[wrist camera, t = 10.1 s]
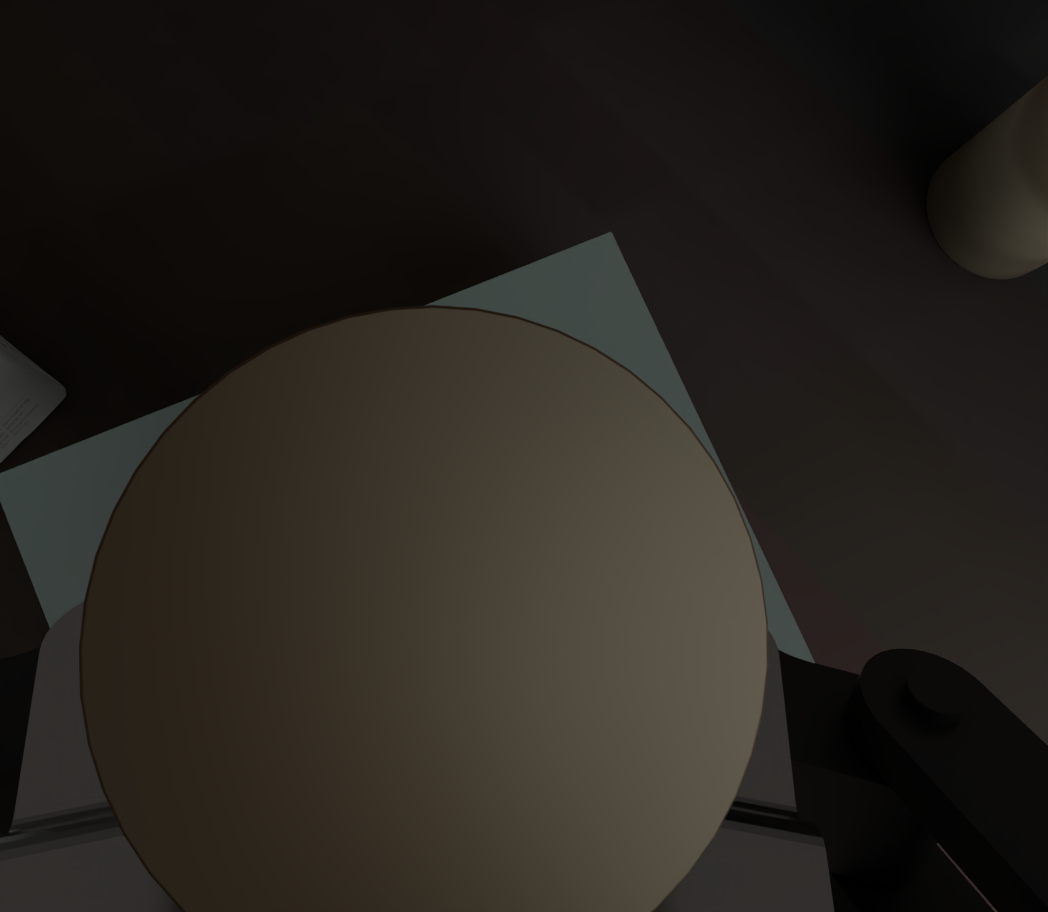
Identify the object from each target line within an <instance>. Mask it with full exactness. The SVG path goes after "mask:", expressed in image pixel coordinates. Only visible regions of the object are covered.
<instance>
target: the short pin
mask: <svg viewBox="0 0 1048 912" xmlns="http://www.w3.org/2000/svg"><path fill="white" fill-rule="evenodd" d="M926 205H927V215H928V221H929V224H930V227H931V230H932V232H933V234H934V237H935V238H936V240H937V242H938V244H939V245H940V246H941V248H942V249H943V250H944V252H945V253H946V254H947V255H948V256H949V257H950V258H951V259H952V260H953V261H954V262H956V263H957V264H958V265H959V266H961V267H963V268H964V269H966V270H968V271H970V272H972V273H974V274H976V275H979V276H982V277H986V278H991V279H1010V278H1015V277H1019V276H1022V275H1025V274H1027V273H1029V272H1030V271H1032V270H1034V269H1036V268H1038V267H1040V266H1042V265H1044V264H1046V263H1048V76H1047V77H1046V78H1044V79H1043V80H1042V81H1041V82H1040V83H1038V84H1037V85H1036V86H1035V87H1034V88H1032V89H1031V90H1030V91H1029V92H1027V93H1026V94H1025V95H1024V96H1023V97H1021V98H1020V99H1019V100H1018V101H1016V102H1015V103H1014V104H1013V105H1012V106H1010V107H1009V108H1008V109H1007V110H1005V111H1004V112H1003V113H1002V114H1001V115H999V116H998V117H997V118H996V119H994V120H993V121H992V122H991V123H990V124H988V125H987V126H986V127H985V128H984V129H982V130H981V131H980V132H979V133H977V134H976V135H975V136H974V137H973V138H971V139H970V140H969V141H968V142H966V143H965V144H964V145H963V146H962V147H960V148H959V149H958V150H957V151H955V152H954V153H953V154H952V155H951V156H949V157H948V158H947V159H946V160H945V161H944V162H943V163H942V164H941V165H940V166H939V167H938V169H937V170H936V172H935V173H934V175H933V177H932V179H931V182H930V184H929V188H928V192H927V200H926Z"/></svg>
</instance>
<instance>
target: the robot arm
mask: <svg viewBox="0 0 1048 912" xmlns="http://www.w3.org/2000/svg"><path fill="white" fill-rule="evenodd" d="M83 605H84V602H82V603H81V604H79V605H77V606H75V607H74V608H72V609H71V610H69V611H68V612H67V613H65V614H64V615H63V616H62V617H61V618H59V619H58V620H57V621H56V622H55V623H54V624H53V626H52V627H51V628H50V630H49V631H48V632H47V634H46V636H45V638H44V640H43V641H42V644H41V647H40V648H37V649H34V650H32V651H29V652H27V653H24V654H20V655H16V656H13V657H9V658H5V659H1V660H0V912H182V911H181V910H180V908H179V907H178V906H177V905H176V904H175V903H174V902H173V901H172V899H171V898H170V897H169V896H168V895H167V894H166V893H165V892H164V890H163V889H162V888H161V887H160V886H159V885H158V884H157V883H156V881H155V880H154V879H153V878H152V877H151V876H150V875H149V873H148V872H147V870H146V869H145V867H144V866H143V864H142V863H141V861H140V860H139V858H138V856H137V855H136V853H135V852H134V850H133V849H132V847H131V846H130V844H129V843H128V841H127V840H126V838H125V837H124V835H123V834H122V831H121V829H120V827H119V825H118V823H117V821H116V819H115V817H114V814H113V812H112V810H111V808H110V806H109V804H108V802H107V800H106V798H105V795H104V793H103V791H102V788H101V785H100V782H99V779H98V775H97V772H96V769H95V766H94V762H93V759H92V756H91V753H90V750H89V746H88V742H87V736H86V730H85V724H84V718H83V712H82V706H81V699H80V676H79V642H80V633H81V624H82V614H83ZM937 843H939V844H940V845H941V847H942V848H943V849H944V850H945V851H946V852H947V853H948V855H949V856H950V857H951V858H952V859H953V860H954V862H955V863H956V864H957V865H958V866H959V867H960V868H961V870H962V871H963V872H964V873H965V874H966V875H967V877H968V878H969V879H970V880H971V881H972V882H973V883H974V885H975V886H976V887H977V888H978V889H979V890H980V892H981V893H982V894H983V895H984V896H985V897H986V898H987V900H988V901H989V902H990V903H991V904H992V905H993V907H994V908H995V909H996V910H997V911H998V912H1048V746H1047V745H1046V744H1045V743H1044V742H1043V741H1042V740H1041V739H1040V738H1039V737H1038V736H1037V735H1036V734H1035V733H1034V732H1033V731H1031V730H1030V729H1029V728H1028V727H1027V726H1026V725H1025V724H1024V723H1023V722H1022V721H1021V720H1020V719H1019V718H1018V717H1017V716H1016V715H1014V714H1013V713H1012V712H1011V711H1010V710H1009V709H1008V708H1007V707H1006V706H1005V705H1004V704H1003V703H1002V702H1001V701H1000V700H999V699H998V698H996V697H995V696H994V695H993V694H992V693H991V692H990V691H989V690H988V689H987V688H986V687H985V686H984V685H983V684H982V683H981V682H979V681H978V680H977V679H976V678H975V677H974V676H972V675H971V674H970V673H968V672H967V671H965V670H964V669H963V668H961V667H960V666H958V665H956V664H954V663H952V662H951V661H949V660H947V659H944V658H942V657H939V656H937V655H934V654H931V653H928V652H924V651H919V650H914V649H891V650H887V651H883V652H881V653H879V654H877V655H875V656H873V657H872V658H871V659H870V660H868V662H867V663H866V664H865V666H864V667H863V669H862V672H861V674H860V675H857V674H854V673H850V672H846V671H842V670H839V669H835V668H831V667H827V666H824V665H820V664H816V663H812V662H808V661H805V660H802V659H799V658H796V657H794V656H791V655H789V654H787V653H784V652H782V651H781V650H779V649H778V648H777V645H776V642H775V640H774V638H773V636H772V635H771V633H770V632H769V630H768V674H767V683H766V691H765V700H764V709H763V714H762V718H761V722H760V726H759V730H758V734H757V739H756V743H755V747H754V751H753V755H752V757H751V760H750V762H749V765H748V768H747V770H746V773H745V776H744V778H743V781H742V784H741V786H740V789H739V791H738V794H737V797H736V798H735V800H734V802H733V804H732V806H731V808H730V810H729V812H728V813H727V815H726V817H725V819H724V821H723V823H722V825H721V827H720V829H719V830H718V832H717V834H716V836H715V838H714V839H713V840H712V842H711V843H710V845H709V846H708V847H707V849H706V850H705V852H704V853H703V855H702V856H701V857H700V859H699V860H698V862H697V863H696V864H695V866H694V867H693V869H692V870H691V872H690V873H689V874H688V875H687V876H686V878H685V879H684V880H683V881H682V882H681V883H680V884H679V885H678V886H677V887H676V888H675V890H674V891H673V892H672V893H671V894H670V895H669V896H668V897H667V898H666V899H665V900H664V902H663V903H662V904H661V905H660V906H659V907H658V908H657V909H656V910H655V911H653V912H994V911H993V910H992V908H991V907H990V906H989V905H988V904H987V903H986V901H985V900H984V899H983V898H982V897H981V896H980V895H979V893H978V892H977V891H976V890H975V889H974V888H973V886H972V885H971V884H970V883H969V882H968V881H967V879H966V878H965V877H964V876H963V875H962V874H961V873H960V871H959V870H958V869H957V868H956V867H955V866H954V864H953V863H952V862H951V861H950V860H949V859H948V857H947V856H946V855H945V854H944V853H943V852H942V850H941V849H940V848H939V847H938V846H937Z"/></svg>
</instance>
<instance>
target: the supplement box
mask: <svg viewBox="0 0 1048 912" xmlns="http://www.w3.org/2000/svg"><path fill="white" fill-rule="evenodd" d="M65 396H66V389H65V387H64V386H63V385H61V384H60V383H59V382H58V381H56V380H55V379H54V378H53V377H51V376H50V375H49V374H47V373H46V372H45V371H44V370H42V369H41V368H40V367H39V366H37V365H36V364H35V363H34V362H32V361H31V360H30V359H29V358H27V357H26V356H25V355H24V354H22V353H21V352H20V351H19V350H17V349H16V348H15V347H14V346H13V345H11V344H10V343H9V342H8V341H7V340H5V339H4V338H3V337H2V336H1V335H0V463H1V462H2V461H3V460H4V459H5V458H6V457H7V456H8V455H9V454H10V453H11V452H12V451H13V450H14V449H15V448H16V447H17V446H18V445H19V444H20V443H21V442H22V441H23V440H24V439H25V438H26V437H27V436H28V435H29V434H31V433H32V432H33V431H34V430H35V429H36V428H37V427H38V425H39V424H40V423H41V422H42V421H43V420H44V419H45V418H46V417H47V416H48V415H49V414H50V413H51V412H52V411H53V410H54V409H55V408H56V407H57V406H58V405H59V404H60V403H61V401H62V400H63V399H64V398H65Z"/></svg>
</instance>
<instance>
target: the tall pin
mask: <svg viewBox="0 0 1048 912" xmlns="http://www.w3.org/2000/svg"><path fill="white" fill-rule="evenodd" d="M767 674H768V619H767V612H766V604H765V597H764V589H763V582H762V577H761V573H760V569H759V565H758V561H757V558H756V554H755V550H754V546H753V542H752V539H751V536H750V533H749V531H748V528H747V526H746V523H745V521H744V518H743V516H742V513H741V511H740V508H739V506H738V503H737V501H736V498H735V496H734V495H733V493H732V491H731V489H730V487H729V486H728V484H727V482H726V480H725V478H724V476H723V475H722V473H721V471H720V469H719V467H718V466H717V464H716V462H715V460H714V459H713V458H712V456H711V455H710V453H709V452H708V451H707V449H706V448H705V447H704V445H703V444H702V442H701V441H700V440H699V438H698V437H697V436H696V434H695V433H694V431H693V430H692V429H691V427H690V426H689V425H688V424H687V423H686V422H685V421H684V420H683V419H682V418H681V417H680V415H679V414H678V413H677V412H676V411H675V410H674V409H673V408H672V407H671V406H670V405H669V404H668V403H667V402H666V400H665V399H664V398H663V397H662V396H661V395H659V394H658V393H657V392H656V391H655V390H653V389H652V388H651V387H650V386H649V385H647V384H646V383H645V382H644V381H643V380H641V379H640V378H639V377H638V376H637V375H635V374H634V373H633V372H632V371H631V370H629V369H628V368H626V367H625V366H623V365H621V364H620V363H618V362H617V361H615V360H614V359H612V358H611V357H609V356H607V355H606V354H604V353H603V352H601V351H600V350H598V349H597V348H595V347H593V346H591V345H589V344H587V343H585V342H583V341H580V340H578V339H576V338H574V337H572V336H570V335H568V334H566V333H564V332H562V331H559V330H557V329H555V328H551V327H548V326H545V325H542V324H539V323H536V322H533V321H530V320H527V319H524V318H521V317H518V316H514V315H509V314H504V313H499V312H494V311H489V310H483V309H478V308H469V307H454V306H440V305H426V306H408V307H391V308H385V309H380V310H374V311H369V312H364V313H358V314H353V315H348V316H345V317H341V318H338V319H335V320H332V321H329V322H326V323H323V324H319V325H316V326H313V327H310V328H307V329H305V330H302V331H300V332H298V333H296V334H294V335H292V336H289V337H287V338H285V339H283V340H281V341H279V342H276V343H274V344H272V345H270V346H268V347H266V348H264V349H263V350H261V351H260V352H258V353H256V354H255V355H253V356H252V357H250V358H248V359H247V360H245V361H244V362H242V363H240V364H239V365H237V366H236V367H234V368H232V369H231V370H229V371H228V372H227V373H225V374H224V375H223V376H222V377H221V378H219V379H218V380H217V381H216V382H214V383H213V384H212V385H211V386H210V387H208V388H207V389H206V390H205V391H203V392H202V393H201V394H200V395H199V396H197V397H196V398H195V399H194V400H193V401H192V402H191V403H190V404H189V405H188V406H187V407H186V408H185V409H184V410H183V411H182V412H181V413H180V414H179V415H178V417H177V418H176V419H175V420H174V421H173V422H172V423H171V424H170V425H169V426H168V427H167V428H166V429H165V430H164V431H163V432H162V434H161V435H160V436H159V438H158V439H157V441H156V442H155V443H154V445H153V446H152V447H151V449H150V450H149V451H148V453H147V454H146V456H145V457H144V458H143V460H142V461H141V462H140V464H139V465H138V467H137V468H136V469H135V471H134V473H133V475H132V476H131V478H130V480H129V482H128V484H127V485H126V487H125V489H124V491H123V493H122V495H121V496H120V498H119V500H118V502H117V504H116V505H115V507H114V509H113V511H112V513H111V516H110V519H109V521H108V524H107V526H106V529H105V531H104V534H103V536H102V539H101V542H100V544H99V547H98V549H97V552H96V554H95V558H94V562H93V566H92V570H91V574H90V579H89V583H88V587H87V591H86V595H85V599H84V605H83V614H82V624H81V633H80V642H79V676H80V699H81V706H82V712H83V718H84V724H85V730H86V736H87V742H88V746H89V750H90V753H91V756H92V759H93V762H94V766H95V769H96V772H97V775H98V779H99V782H100V785H101V788H102V791H103V793H104V795H105V798H106V800H107V802H108V804H109V806H110V808H111V810H112V812H113V814H114V817H115V819H116V821H117V823H118V825H119V827H120V829H121V831H122V834H123V835H124V837H125V838H126V840H127V841H128V843H129V844H130V846H131V847H132V849H133V850H134V852H135V853H136V855H137V856H138V858H139V860H140V861H141V863H142V864H143V866H144V867H145V869H146V870H147V872H148V873H149V875H150V876H151V877H152V878H153V879H154V880H155V881H156V883H157V884H158V885H159V886H160V887H161V888H162V889H163V890H164V892H165V893H166V894H167V895H168V896H169V897H170V898H171V899H172V901H173V902H174V903H175V904H176V905H177V906H178V907H179V908H180V910H181V911H182V912H653V911H655V910H656V909H657V908H658V907H659V906H660V905H661V904H662V903H663V902H664V900H665V899H666V898H667V897H668V896H669V895H670V894H671V893H672V892H673V891H674V890H675V888H676V887H677V886H678V885H679V884H680V883H681V882H682V881H683V880H684V879H685V878H686V876H687V875H688V874H689V873H690V872H691V870H692V869H693V867H694V866H695V864H696V863H697V862H698V860H699V859H700V857H701V856H702V855H703V853H704V852H705V850H706V849H707V847H708V846H709V845H710V843H711V842H712V840H713V839H714V838H715V836H716V834H717V832H718V830H719V829H720V827H721V825H722V823H723V821H724V819H725V817H726V815H727V813H728V812H729V810H730V808H731V806H732V804H733V802H734V800H735V798H736V797H737V794H738V791H739V789H740V786H741V784H742V781H743V778H744V776H745V773H746V770H747V768H748V765H749V762H750V760H751V757H752V755H753V751H754V747H755V743H756V739H757V734H758V730H759V726H760V722H761V718H762V714H763V709H764V700H765V691H766V683H767Z"/></svg>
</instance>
